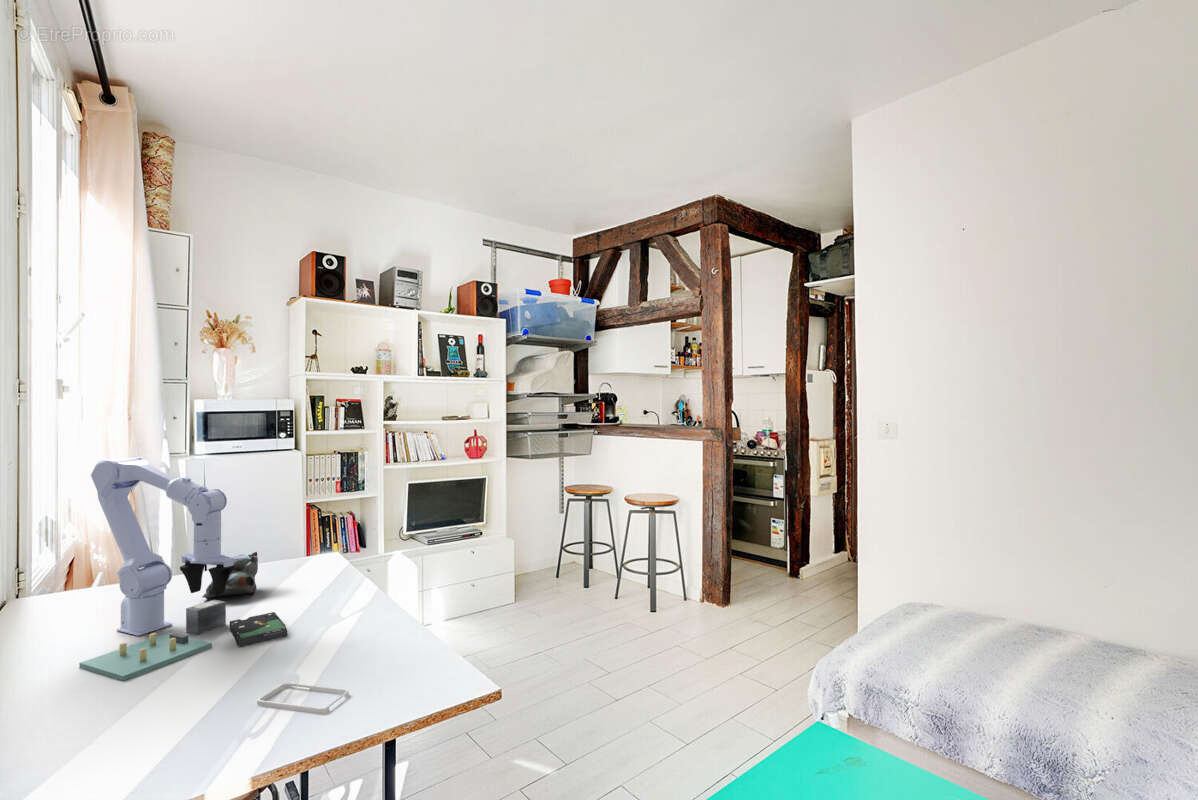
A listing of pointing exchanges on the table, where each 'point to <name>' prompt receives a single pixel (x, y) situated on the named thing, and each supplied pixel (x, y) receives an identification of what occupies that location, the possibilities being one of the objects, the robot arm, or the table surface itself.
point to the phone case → (301, 707)
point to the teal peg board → (145, 655)
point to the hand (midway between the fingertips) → (207, 593)
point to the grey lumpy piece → (239, 577)
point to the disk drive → (257, 629)
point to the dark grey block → (205, 617)
